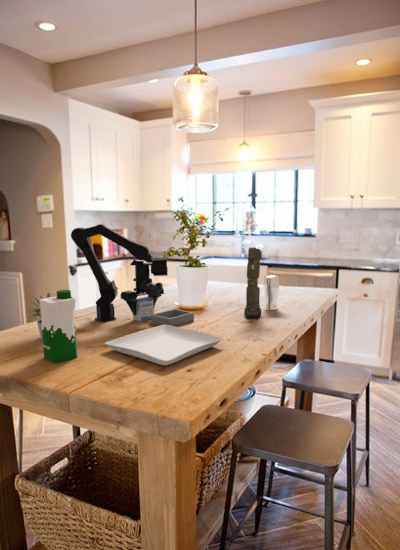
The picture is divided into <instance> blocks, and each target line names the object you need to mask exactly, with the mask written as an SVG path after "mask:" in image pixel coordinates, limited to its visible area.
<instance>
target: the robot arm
mask: <svg viewBox="0 0 400 550" xmlns="http://www.w3.org/2000/svg"><path fill="white" fill-rule="evenodd" d="M99 235H100V236H102V237H104V238H105V239H106V240H110V241H111V242H113V243H114V244H116V245H117V246H120V247H122V248H124V249H125V250H126V251H127V252H128V253H130V254H131V255H132V256H134V259H133V260H132V262H131V263H130V264H129V265H130V266H134V268H135V269H134V271H135V273H134V274H135V275H134V276H135V277H133V282H135V287H134V288H133V290H126V291H125V290H124V291H121V293H120V299H121V300H123V301H125V302H126V305H128V307H129V309H130V312H131V313H132V316H133V315H134V316H136V302H137V301H138V300H136V299H138V297H140V296H145V295H147V297H152V298H153V304H154V308H155V306H156V303H157V301H158V299H159V298H160V297H162V295H164V294H165V290H164V288H163V287H164V285H163V283H162V282H156V283H153V280H152V278H151V277H150V276H151V275H150V274H152V275H153V276H154V277H163V276H164V277H165V276H166V277H168V269H169V268H168V259H167V258H161V259H155V258H154V257H153V256H152V255H151V254H150V249H149V247H148V246H147V245H145V244H143V243H140V242H136V241H133V240H130V239H129V238H127V237H125V236H123V235H122V234H120V233H118V232H116V231H115V230H113V229H111V228H109V227H107V226H106V225H105V224H102V223H101V224H97V225H94V226H90V227H86V228H85V227H76V228H74V229H73V230H72V231H71V233H70V237H71V240H72V241H73V242H74V244H75V245H76V247H78V248H79V250H80V251H82V254H83V255H84V258H85V260H86V261H87V264H88V265H89V266H88V267H89V268H90V270H91V271H92V274H93V276H94V279H95V280H96V282H97V286H98V291H99V296H100V297H99V298H98V299H97V300H96V301H95V306H96V317H94V320H95V321H99V322H102V323H106V322H110V321H114V320H117V317H115V315H116V314H115V306H114V303H113V301H114V300H115V299H116V298H117V296H118V294H119V293H118V290H119V288H118V287H117V286H116V282H115V280H114V279H113V280H111V281H110V279H109V278H108V277H107V274H106V273H105V271H104V268H103V266H102V264H101V262H100V260H99V257H98V256H97V255H96V252H95V250H94V248H93V245H92V237H97V236H99Z"/></svg>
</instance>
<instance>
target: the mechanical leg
mask: <svg viewBox="0 0 400 550" xmlns="http://www.w3.org/2000/svg"><path fill="white" fill-rule="evenodd" d="M262 255H263V254H262V250H261V249H260V248H257V247H248V255H247V265H246V266H247V267H246V279H247V280H246V281H247V286H246V288H245V289H246V291H245V292H246V293H245V294H246V298H245V300H246V304H245V307H244V308H243V309H244V310H243V311H244V312H243V316H245V319H246V320H259V318H260V317H262V308H261V305H260V292H261V291H260V290H261V289H260V287H259V285H258V284H259V283H258V282H259V278H260V272H261V271H260V270H261V269H260V268H261V260H262Z"/></svg>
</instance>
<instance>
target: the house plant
mask: <svg viewBox="0 0 400 550" xmlns="http://www.w3.org/2000/svg"><path fill="white" fill-rule="evenodd" d="M52 294H53V293H51V292H47V295H46V298H48V297H51V295H52ZM30 297H31V298H33V299H34V300H35V301H36V302H37V303H36V302H35V301H31V300H30V303H32V305H34V306H35V307H36V308H34V307H31V308H28V310H29V313H30V314H31V313H33V314H32V315H31V317H33V319H34V318H36V317H37V316H38V317H41V310H40V308H39V307H40V302H39V299H44V297H43V296H41V295H40V296H39V299H37V298H36V297H35V296H33V295H31V296H30ZM52 297H57V295H56V296H55V294H53V295H52ZM36 323H37V327H38V331H39V336H40V339H41V340H42V341H43V337H42V321H41V319H39V320H38V319H37V321H36Z"/></svg>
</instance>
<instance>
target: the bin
mask: <svg viewBox="0 0 400 550" xmlns="http://www.w3.org/2000/svg"><path fill="white" fill-rule="evenodd" d="M194 315H195V312H191V311H187V310H183V309H179V308H178V309H177V308H173V309H170V310H169V309H168V310H165V311H161V312H156V313H154V314H152V315H151V319H150V324H153V325H156V326H161V325H170V326H175V327H180V326H182V325H186V324H189V323H193V322H195V316H194Z"/></svg>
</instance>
